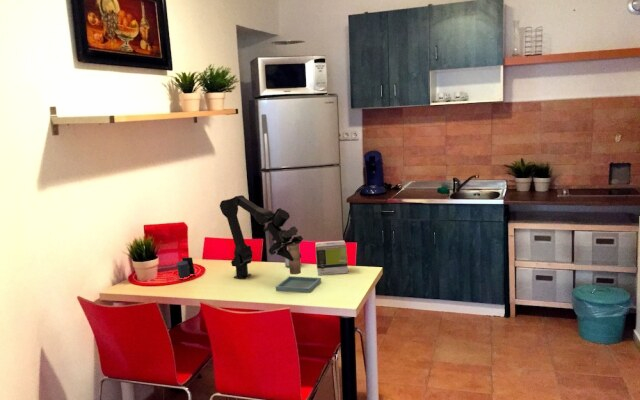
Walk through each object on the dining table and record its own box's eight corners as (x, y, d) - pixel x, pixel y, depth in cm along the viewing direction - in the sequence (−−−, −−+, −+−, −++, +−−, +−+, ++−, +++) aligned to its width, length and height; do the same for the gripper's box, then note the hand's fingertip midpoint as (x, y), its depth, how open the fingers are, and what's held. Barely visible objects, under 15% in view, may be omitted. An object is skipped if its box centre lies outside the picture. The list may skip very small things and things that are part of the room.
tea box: (346, 268, 278) (345, 239, 276) (348, 273, 268) (346, 244, 266) (316, 270, 278) (315, 241, 275) (317, 275, 268) (315, 246, 265)
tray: (289, 280, 262) (289, 276, 262) (321, 282, 257) (320, 277, 257) (275, 290, 247) (275, 286, 247) (309, 292, 242) (308, 288, 242)
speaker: (187, 274, 281) (184, 255, 278) (195, 276, 278) (192, 257, 275) (176, 280, 275) (173, 260, 272) (184, 282, 272) (181, 262, 269)
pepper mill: (289, 271, 252) (287, 244, 250) (300, 270, 253) (298, 243, 251) (290, 274, 247) (288, 246, 245) (301, 273, 248) (299, 245, 246)
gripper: (271, 225, 241) (292, 253, 236) (298, 218, 256) (318, 243, 251) (259, 241, 248) (279, 268, 242) (287, 233, 262) (306, 258, 257)
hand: (296, 259), depth 248 cm, fingers closed on pepper mill, 5 cm apart
